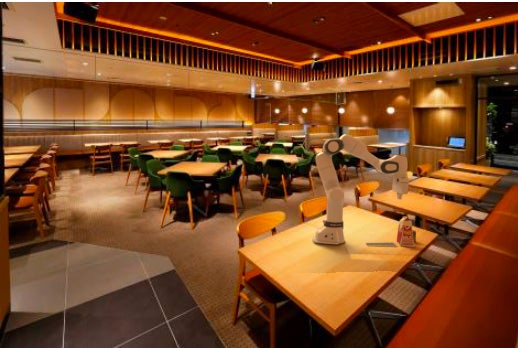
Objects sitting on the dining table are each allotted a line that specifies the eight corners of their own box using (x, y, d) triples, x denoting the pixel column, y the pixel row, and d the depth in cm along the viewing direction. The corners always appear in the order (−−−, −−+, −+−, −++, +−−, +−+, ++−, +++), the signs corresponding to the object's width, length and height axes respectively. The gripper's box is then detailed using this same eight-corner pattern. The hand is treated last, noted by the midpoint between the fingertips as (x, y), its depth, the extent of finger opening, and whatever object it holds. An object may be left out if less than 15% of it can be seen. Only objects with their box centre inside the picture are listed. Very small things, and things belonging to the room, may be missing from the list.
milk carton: (414, 246, 189) (415, 217, 188) (399, 246, 191) (400, 216, 190) (410, 242, 198) (410, 214, 197) (395, 242, 200) (396, 214, 199)
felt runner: (367, 246, 192) (367, 245, 192) (364, 242, 201) (364, 241, 201) (397, 246, 189) (397, 246, 189) (392, 242, 198) (392, 242, 198)
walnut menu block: (410, 242, 198) (410, 231, 198) (408, 241, 202) (408, 230, 201) (415, 242, 198) (416, 231, 197) (413, 241, 201) (414, 230, 201)
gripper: (390, 177, 203) (389, 196, 204) (400, 180, 183) (399, 201, 184) (399, 177, 202) (399, 196, 203) (410, 180, 182) (410, 201, 183)
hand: (399, 199), depth 193 cm, fingers closed
